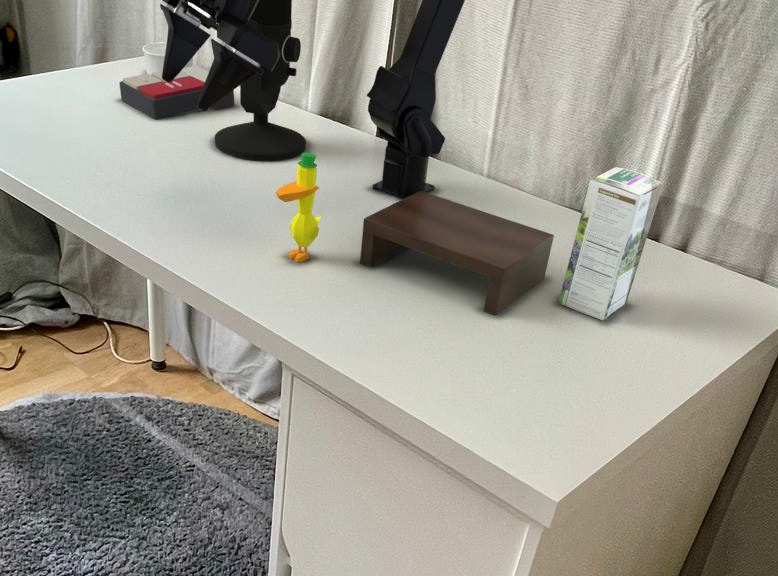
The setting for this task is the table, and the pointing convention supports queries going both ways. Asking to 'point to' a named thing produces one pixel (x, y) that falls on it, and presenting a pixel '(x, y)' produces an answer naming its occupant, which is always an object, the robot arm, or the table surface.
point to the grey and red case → (168, 93)
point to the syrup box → (609, 241)
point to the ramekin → (157, 57)
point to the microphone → (266, 94)
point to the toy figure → (302, 206)
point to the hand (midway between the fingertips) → (182, 94)
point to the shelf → (461, 243)
